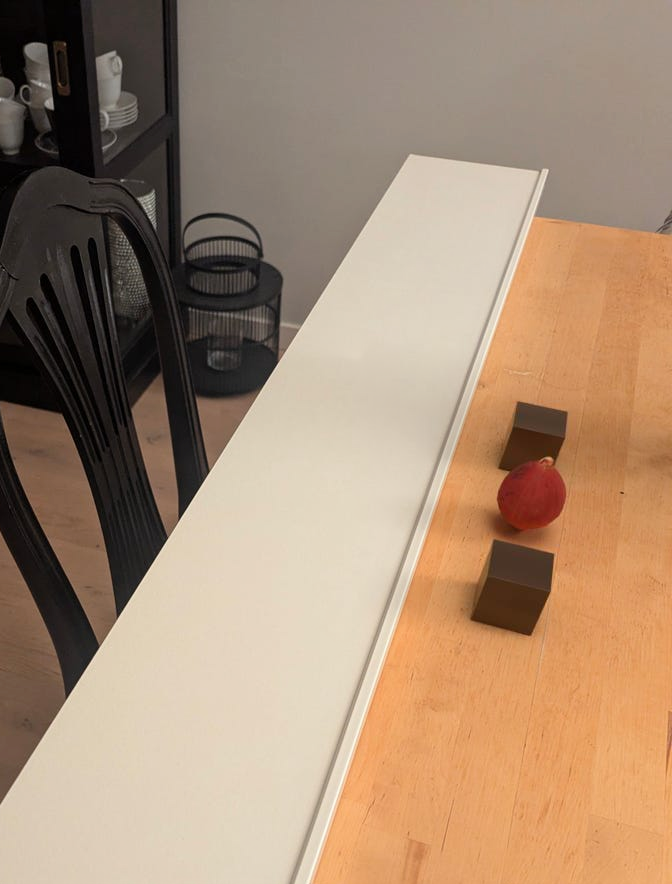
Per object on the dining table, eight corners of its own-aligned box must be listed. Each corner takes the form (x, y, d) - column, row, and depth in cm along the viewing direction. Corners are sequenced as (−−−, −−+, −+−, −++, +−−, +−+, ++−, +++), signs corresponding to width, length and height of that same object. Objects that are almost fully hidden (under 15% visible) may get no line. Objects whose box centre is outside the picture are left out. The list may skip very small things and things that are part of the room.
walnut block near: (477, 582, 80) (493, 538, 76) (535, 597, 79) (554, 553, 75) (470, 619, 77) (487, 575, 73) (531, 635, 76) (551, 591, 72)
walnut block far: (502, 442, 96) (517, 400, 92) (551, 453, 95) (568, 411, 91) (498, 468, 92) (513, 425, 89) (548, 479, 91) (565, 437, 88)
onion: (481, 536, 84) (507, 464, 79) (494, 502, 88) (520, 431, 82) (544, 555, 83) (575, 484, 77) (555, 520, 87) (585, 449, 81)
